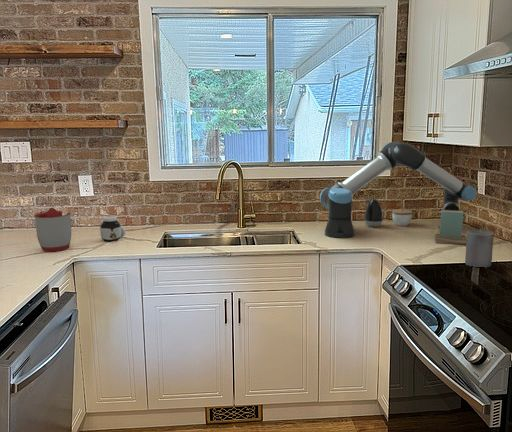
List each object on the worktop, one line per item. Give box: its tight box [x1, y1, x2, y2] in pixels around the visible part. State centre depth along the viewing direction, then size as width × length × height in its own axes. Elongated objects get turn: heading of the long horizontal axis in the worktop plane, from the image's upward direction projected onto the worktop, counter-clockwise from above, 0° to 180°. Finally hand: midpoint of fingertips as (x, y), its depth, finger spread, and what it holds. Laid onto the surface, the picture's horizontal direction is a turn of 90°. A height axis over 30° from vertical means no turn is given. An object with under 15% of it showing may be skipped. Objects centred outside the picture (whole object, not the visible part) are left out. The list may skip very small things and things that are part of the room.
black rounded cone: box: [363, 198, 384, 228], centre depth 264 cm, size 10×10×15 cm
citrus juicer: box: [33, 207, 73, 253], centre depth 223 cm, size 16×17×20 cm
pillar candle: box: [464, 228, 495, 269], centre depth 190 cm, size 10×10×15 cm
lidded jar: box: [391, 208, 413, 227], centre depth 267 cm, size 11×11×9 cm
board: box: [434, 233, 467, 246], centre depth 232 cm, size 18×14×1 cm
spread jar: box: [99, 215, 127, 243], centre depth 242 cm, size 12×11×12 cm
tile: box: [439, 209, 464, 237], centre depth 235 cm, size 2×10×13 cm, turn 70°
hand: (453, 218), depth 235 cm, fingers closed
